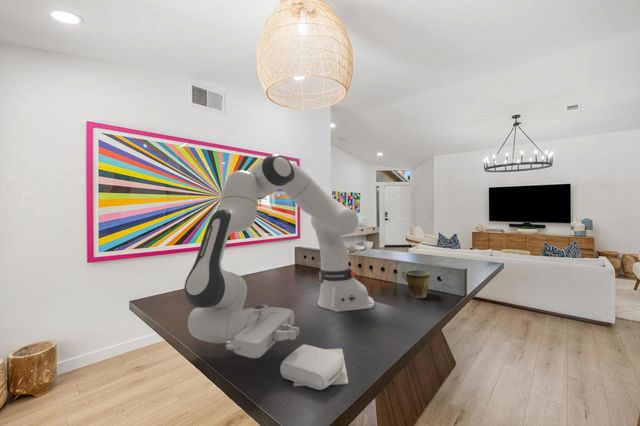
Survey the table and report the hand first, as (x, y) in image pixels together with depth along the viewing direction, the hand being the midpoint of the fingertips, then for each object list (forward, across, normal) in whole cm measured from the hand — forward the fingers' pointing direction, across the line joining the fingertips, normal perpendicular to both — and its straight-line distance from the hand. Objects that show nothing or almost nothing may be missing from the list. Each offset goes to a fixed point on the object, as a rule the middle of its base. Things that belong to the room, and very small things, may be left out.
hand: (297, 333), depth 68 cm
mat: (+5, +3, +9) cm, 11 cm away
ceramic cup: (+28, +66, +9) cm, 73 cm away
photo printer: (-2, 0, +6) cm, 7 cm away
